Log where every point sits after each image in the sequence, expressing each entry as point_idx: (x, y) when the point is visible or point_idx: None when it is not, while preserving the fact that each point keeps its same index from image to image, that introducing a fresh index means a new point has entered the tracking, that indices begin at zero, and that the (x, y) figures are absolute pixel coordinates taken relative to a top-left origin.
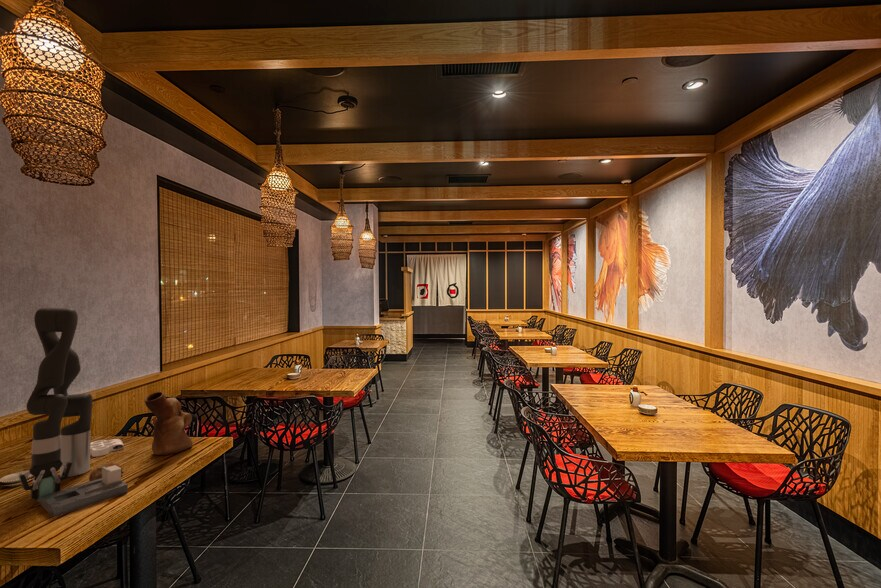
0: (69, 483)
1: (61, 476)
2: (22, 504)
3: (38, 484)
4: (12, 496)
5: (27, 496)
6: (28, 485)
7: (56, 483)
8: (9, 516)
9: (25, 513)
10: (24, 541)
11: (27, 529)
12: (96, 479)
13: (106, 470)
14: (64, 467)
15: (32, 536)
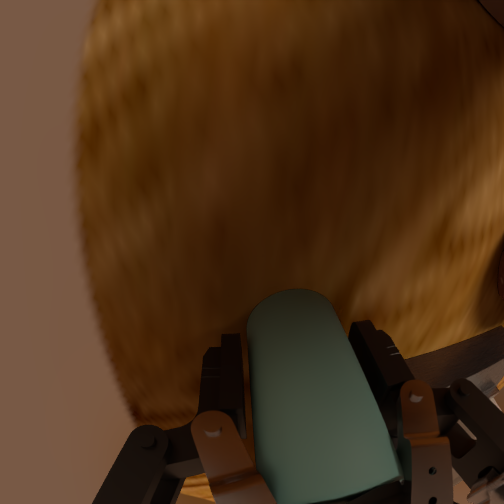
0: (474, 117)
1: (447, 417)
2: (161, 295)
3: (257, 466)
4: (120, 3)
5: (203, 106)
6: (176, 495)
7: (382, 411)
8: (128, 398)
9: (185, 418)
10: (195, 493)
11: (198, 478)
12: (487, 368)
13: (455, 481)
14: (477, 491)
15: (207, 491)
